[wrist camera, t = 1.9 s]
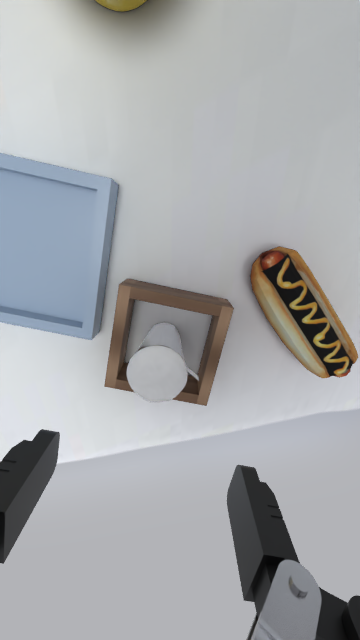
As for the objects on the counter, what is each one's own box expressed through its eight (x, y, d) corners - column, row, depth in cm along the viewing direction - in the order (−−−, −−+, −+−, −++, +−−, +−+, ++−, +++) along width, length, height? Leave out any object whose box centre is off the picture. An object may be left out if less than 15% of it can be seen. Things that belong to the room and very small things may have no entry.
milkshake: (198, 349, 28) (206, 407, 18) (149, 361, 28) (132, 423, 19) (187, 309, 27) (190, 347, 17) (136, 321, 27) (111, 366, 17)
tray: (-44, 147, 23) (-71, 136, 20) (118, 184, 23) (111, 178, 21) (-39, 303, 27) (-61, 310, 24) (99, 331, 27) (91, 340, 25)
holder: (127, 278, 26) (119, 284, 22) (227, 299, 26) (233, 308, 23) (113, 369, 29) (104, 386, 25) (203, 386, 29) (206, 405, 26)
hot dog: (298, 370, 29) (322, 396, 24) (231, 269, 26) (242, 276, 21) (341, 344, 28) (374, 366, 23) (276, 237, 25) (298, 236, 20)
